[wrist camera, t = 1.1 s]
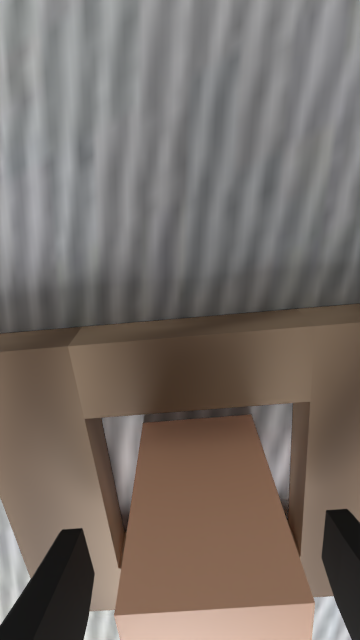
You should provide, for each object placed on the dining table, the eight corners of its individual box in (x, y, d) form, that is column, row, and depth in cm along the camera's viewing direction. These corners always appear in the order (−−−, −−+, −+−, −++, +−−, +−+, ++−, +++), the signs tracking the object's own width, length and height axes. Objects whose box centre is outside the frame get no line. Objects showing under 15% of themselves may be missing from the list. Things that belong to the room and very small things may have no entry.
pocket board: (406, 299, 11) (442, 315, 9) (365, 555, 15) (384, 593, 13) (-23, 335, 11) (-53, 356, 9) (56, 575, 15) (44, 614, 14)
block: (251, 414, 12) (315, 603, 6) (252, 495, 14) (305, 707, 8) (143, 422, 12) (114, 615, 7) (155, 501, 14) (139, 717, 8)
